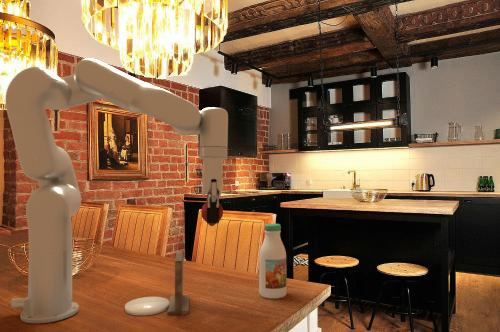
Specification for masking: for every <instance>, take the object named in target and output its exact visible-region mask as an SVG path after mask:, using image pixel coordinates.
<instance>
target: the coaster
mask: <svg viewBox="0 0 500 332" xmlns="http://www.w3.org/2000/svg"><path fill="white" fill-rule="evenodd" d="M169 303H170V299H168V298H166V297H162V296H145V297H140V298H135V299H132V300H129V301H128V302H127V303H125V305H124V312H125V313H126V314H128V315H133V316H142V317H144V316H152V315H158V314H161V313H164V312H165V311H168V308H169Z"/></svg>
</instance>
